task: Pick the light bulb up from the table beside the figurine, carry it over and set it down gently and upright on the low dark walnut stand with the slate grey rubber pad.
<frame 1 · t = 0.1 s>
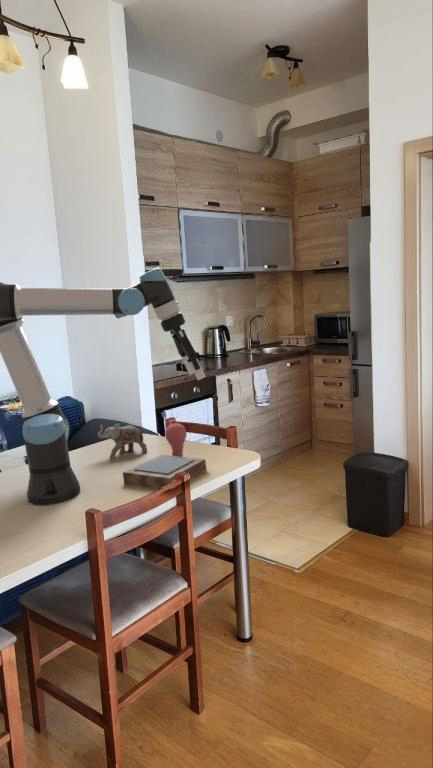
hand: (197, 375, 187), 28 cm above the table, tool tilted 20°, fingers open, 13 cm apart
figurine: (124, 455, 206), on the table
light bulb: (178, 458, 194), on the table
stand: (165, 476, 176), on the table
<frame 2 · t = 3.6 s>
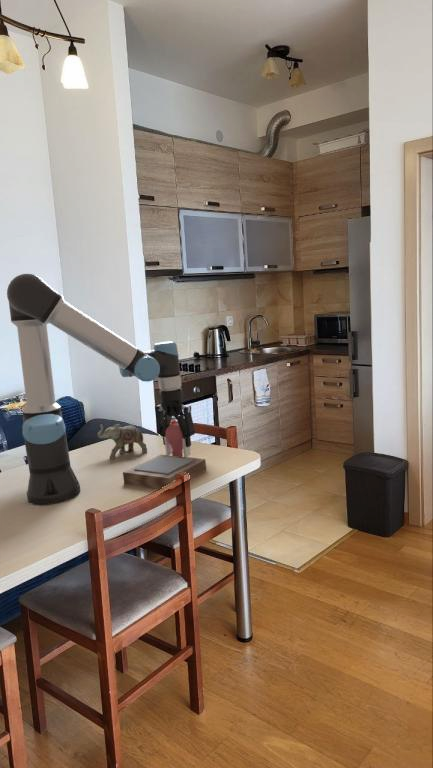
hand: (178, 454, 194), 1 cm above the table, tool pointing down, fingers closed on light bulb, 7 cm apart
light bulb: (178, 458, 194), on the table, touching gripper
everything else where it was.
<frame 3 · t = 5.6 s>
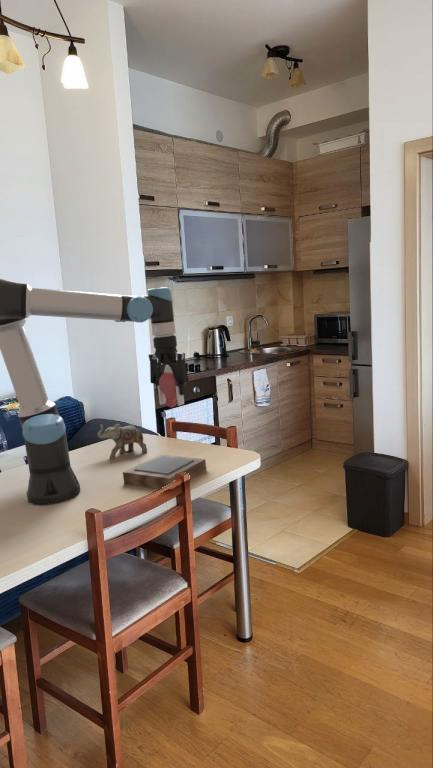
hand: (172, 404, 191), 19 cm above the table, tool pointing down, fingers closed on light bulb, 7 cm apart
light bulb: (172, 407, 191), point 17 cm above the table, touching gripper
everything else where it was.
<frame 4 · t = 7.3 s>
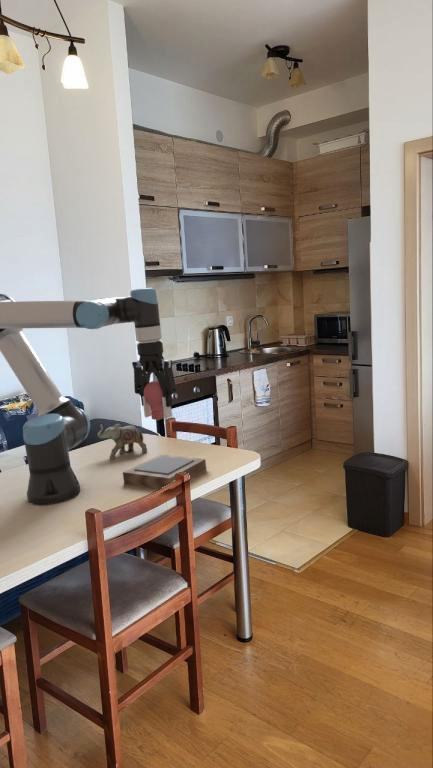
hand: (158, 416, 173), 19 cm above the table, tool pointing down, fingers closed on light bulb, 7 cm apart
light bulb: (158, 420, 173), point 18 cm above the table, touching gripper
everything else where it was.
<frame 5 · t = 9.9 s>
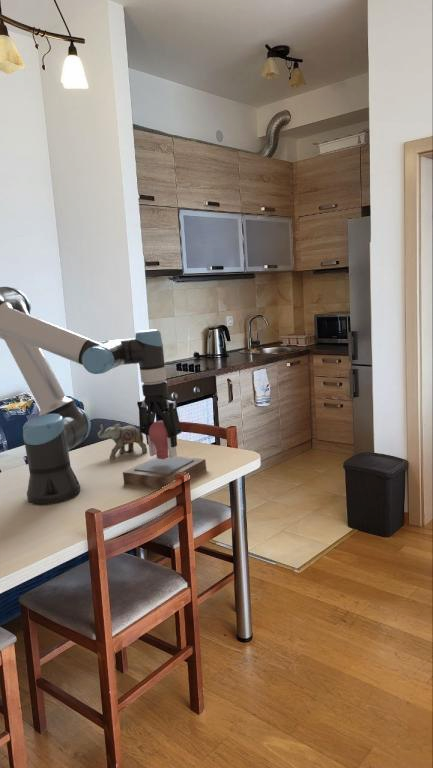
hand: (163, 455, 175), 7 cm above the table, tool pointing down, fingers closed on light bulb, 7 cm apart
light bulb: (163, 459, 175), point 5 cm above the table, touching gripper
everything else where it was.
when the fingers open (5 cm above the table, at t = 11.5 s): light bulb moves 2 cm, resting on stand.
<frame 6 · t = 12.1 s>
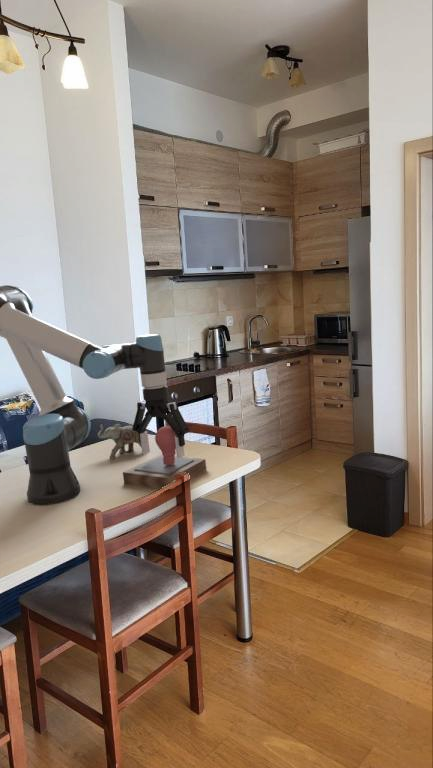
hand: (163, 454, 175), 7 cm above the table, tool pointing down, fingers open, 13 cm apart
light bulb: (170, 465, 174), point 4 cm above the table, touching stand
everything else where it was.
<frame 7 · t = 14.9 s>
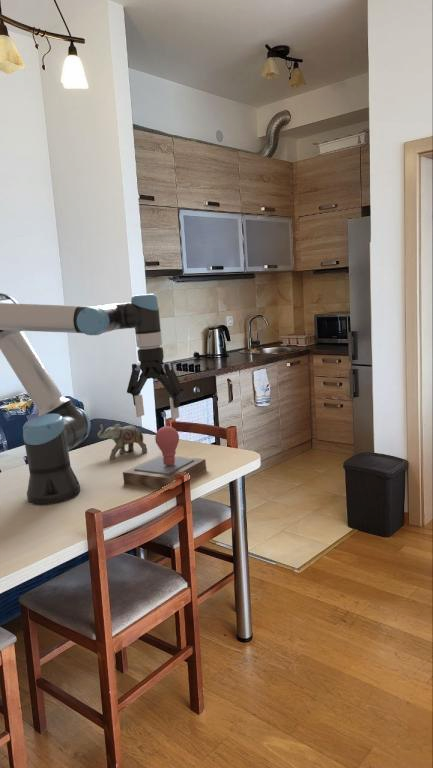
hand: (157, 417, 173), 19 cm above the table, tool pointing down, fingers open, 13 cm apart
nothing on the table moved.
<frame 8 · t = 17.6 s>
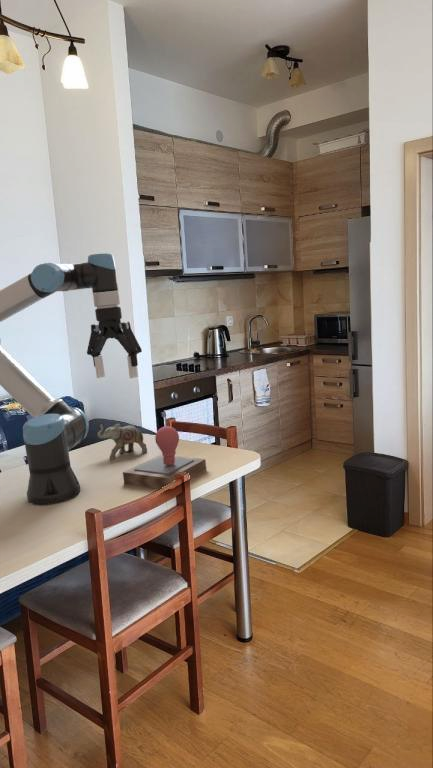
hand: (117, 377, 174), 32 cm above the table, tool pointing down, fingers open, 13 cm apart
nothing on the table moved.
at the end: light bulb inside the target area on the stand (2.4 cm from its centre), point 3.8 cm above the stand's base; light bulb tilted 0°; the gripper is holding nothing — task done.
